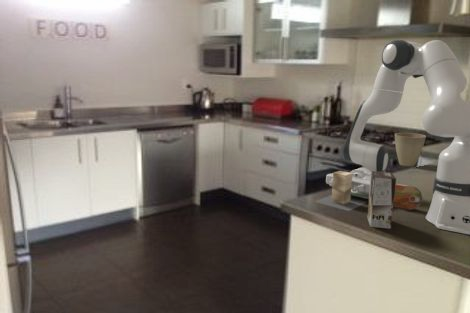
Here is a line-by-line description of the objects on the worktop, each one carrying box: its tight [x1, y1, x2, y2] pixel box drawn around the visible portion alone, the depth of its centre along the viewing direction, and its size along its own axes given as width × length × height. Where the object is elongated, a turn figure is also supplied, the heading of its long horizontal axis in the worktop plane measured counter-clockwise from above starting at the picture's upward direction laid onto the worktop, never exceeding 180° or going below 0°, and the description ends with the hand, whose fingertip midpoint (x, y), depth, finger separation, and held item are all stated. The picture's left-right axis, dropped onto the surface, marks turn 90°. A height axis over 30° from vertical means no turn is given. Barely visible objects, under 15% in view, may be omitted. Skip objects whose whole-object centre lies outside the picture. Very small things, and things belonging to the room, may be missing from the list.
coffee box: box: [366, 171, 397, 230], centre depth 130 cm, size 9×6×16 cm
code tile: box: [314, 194, 368, 212], centre depth 152 cm, size 14×14×1 cm
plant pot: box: [394, 132, 427, 167], centre depth 214 cm, size 15×15×16 cm
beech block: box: [331, 170, 352, 205], centre depth 150 cm, size 5×5×11 cm
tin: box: [393, 183, 423, 211], centre depth 147 cm, size 15×3×8 cm, turn 57°
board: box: [351, 189, 369, 200], centre depth 163 cm, size 14×12×1 cm
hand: (342, 186), depth 151 cm, fingers open, 8 cm apart
